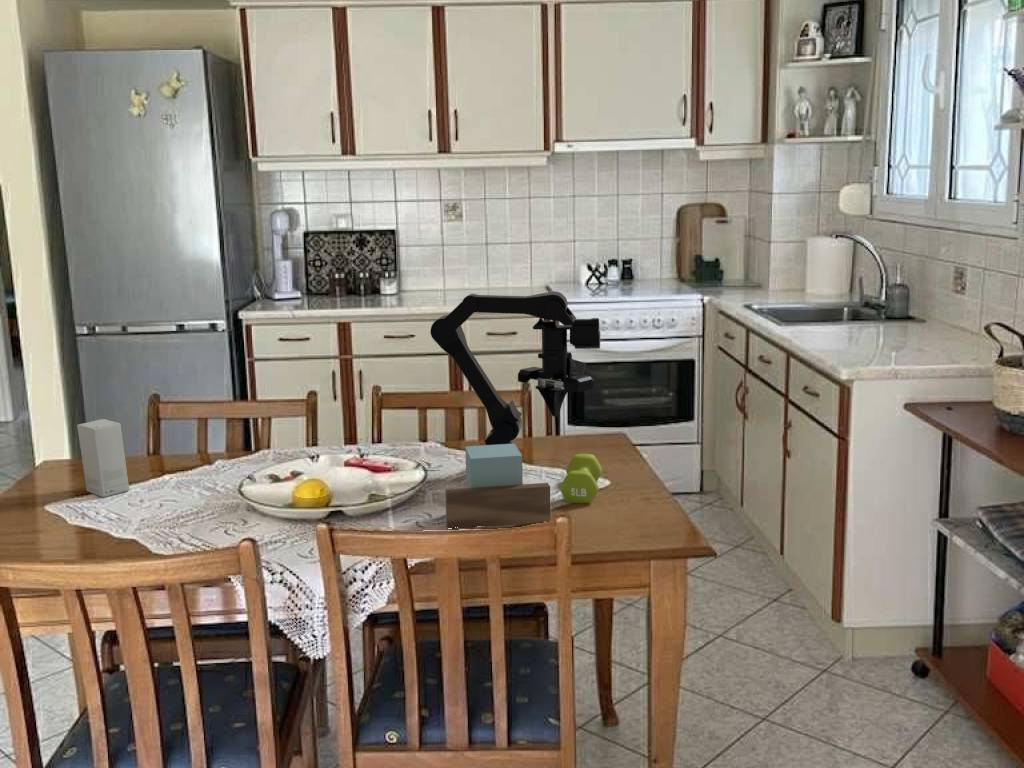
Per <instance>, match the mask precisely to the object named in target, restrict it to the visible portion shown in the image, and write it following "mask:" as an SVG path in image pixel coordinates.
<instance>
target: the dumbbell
mask: <svg viewBox="0 0 1024 768" xmlns="http://www.w3.org/2000/svg"><path fill="white" fill-rule="evenodd" d="M565 471H566V476H565V477H564V479H563V481H562V483H561V485H560V486H559V487H560V488H559V490H560V492H561V494H562V496H563V498H564V499H565V501H566V502H567V503H570V504H571V503H573V504H592V502H593V501H594V499H595V498H596V496H597V494H598V492H599V485H598V481H599V479H600V477H601V475H602V473H603V468H602V465H601V464H600V462H599V460H598V458H597V457H596V456H595V455H594V454H592V453H576V454H574V455H573V456H572V458H571V459H570V461H569V463H568V464H567V467H566V470H565Z"/></svg>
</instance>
